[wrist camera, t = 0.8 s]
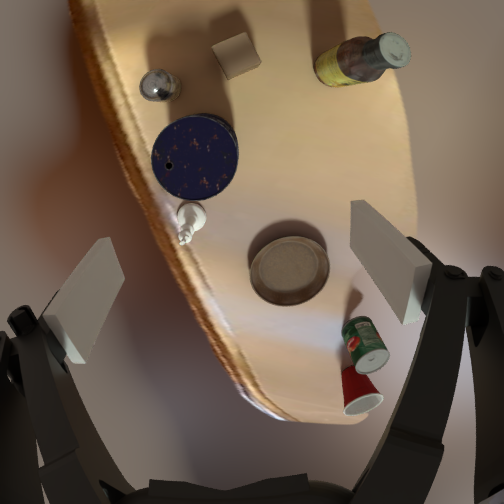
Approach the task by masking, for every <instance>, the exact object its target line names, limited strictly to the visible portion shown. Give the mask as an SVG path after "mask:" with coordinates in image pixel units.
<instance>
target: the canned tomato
mask: <svg viewBox="0 0 504 504" xmlns="http://www.w3.org/2000/svg"><path fill="white" fill-rule="evenodd" d="M341 334H342V337H343V339H344V342H345V344H346V346H347V349H348V351H349V354H350V356H351V359H352V361H353V363H354V366H355V368H356V371H357V372H358V373H360V374H370V373H373V372H375V371H377V370H379V369H381V368H382V367H383V366H384V365H385V364H386V363H387V362H388V360H389V357H390V354H389V352H388V350H387V348H386V346H385V344H384V343H383V341H382V339H381V337H380V335H379V333H378V332H377V330H376V328H375V326H374V324H373V323H372V320H371V319H370V318H369V317H366V316H359V317H356V318H353V319H351V320H350V321H348V322H347V323H346V324H345V325H344V327H343V329H342V332H341Z"/></svg>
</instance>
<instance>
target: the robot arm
mask: <svg viewBox="0 0 504 504" xmlns="http://www.w3.org/2000/svg"><path fill="white" fill-rule="evenodd" d="M350 248H351V249H352V251H353V252H354V253H355V255H356V256H357V258H358V259H359V260H360V262H361V263H362V265H363V266H364V268H365V269H366V270H367V272H368V273H369V275H370V276H371V278H372V279H373V281H374V282H375V284H376V285H377V287H378V288H379V290H380V291H381V293H382V294H383V296H384V297H385V299H386V300H387V302H388V303H389V305H390V306H391V308H392V310H393V311H394V313H395V314H396V316H397V317H398V319H399V321H400V322H401V324H402V325H405V324H409V323H413V322H417V321H418V319H419V316H420V312H421V310H422V311H423V312H424V314H425V315H426V317H425V321H424V324H423V327H422V330H421V333H420V339H419V342H418V345H417V348H416V351H415V354H414V358H413V361H412V363H411V366H410V370H409V372H408V375H407V378H406V381H405V383H404V386H403V389H402V391H401V394H400V396H399V399H398V401H397V404H396V406H395V408H394V411H393V413H392V415H391V418H390V420H389V422H388V424H387V426H386V429H385V431H384V433H383V435H382V437H381V439H380V441H379V443H378V445H377V447H376V449H375V451H374V453H373V455H372V457H371V459H370V461H369V463H368V464H367V466H366V468H365V470H364V471H363V473H362V474H361V476H360V478H359V479H358V481H357V483H356V484H355V486H354V488H353V489H352V491H350V490H348V489H346V488H344V487H342V486H339V485H336V484H333V483H328V482H324V481H315V480H308V477H307V473H305V474H299V475H292V476H286V477H279V478H270V479H265V480H262V481H258V482H256V483H252V484H249V485H245V486H242V487H238V488H235V489H231V490H226V491H224V490H217V489H213V488H208V487H204V486H199V485H196V484H191V483H188V482H181V481H164V480H152V479H150V480H149V487H147V488H143V489H139V490H137V491H136V490H135V489H134V488H133V487H132V486H131V485H130V484H129V483H128V482H127V481H126V479H125V478H124V476H123V475H122V473H121V472H120V471H119V469H118V467H117V465H116V464H115V462H114V461H113V459H112V457H111V455H110V454H109V452H108V450H107V449H106V447H105V445H104V443H103V441H102V440H101V438H100V436H99V434H98V432H97V430H96V428H95V426H94V424H93V422H92V420H91V419H90V416H89V414H88V412H87V410H86V408H85V406H84V404H83V401H82V399H81V397H80V395H79V393H78V390H77V388H76V385H75V383H74V381H73V378H72V376H71V373H70V371H69V368H68V366H67V364H66V363H65V361H64V358H65V356H66V354H67V355H68V357H69V358H70V360H71V361H72V362H73V363H82V364H83V363H85V364H86V362H87V360H88V358H89V355H90V353H91V351H92V348H93V346H94V343H95V341H96V339H97V337H98V334H99V332H100V330H101V327H102V325H103V323H104V321H105V319H106V317H107V314H108V312H109V310H110V308H111V306H112V304H113V302H114V300H115V298H116V296H117V294H118V292H119V290H120V287H121V286H122V284H123V282H124V280H125V277H124V275H123V272H122V270H121V267H120V264H119V262H118V259H117V257H116V254H115V251H114V248H113V245H112V243H111V239H110V237H108V238H102V239H98V240H97V242H96V243H95V244H94V245H93V246H92V248H91V249H90V250H89V252H88V253H87V254H86V255H85V257H84V258H83V259H82V260H81V262H80V263H79V264H78V266H77V267H76V268H75V270H74V271H73V272H72V274H71V275H70V276H69V278H68V279H67V280H66V282H65V283H64V285H63V286H62V287H61V289H59V290H58V291H57V292H56V294H55V295H54V296H53V298H52V300H51V301H50V302H49V303H48V306H47V307H46V308H45V309H44V311H43V312H42V314H41V316H40V317H39V319H38V320H37V319H36V317H35V315H34V313H33V312H32V310H31V308H30V307H29V306H28V305H23V306H20V307H19V308H17V309H15V310H14V311H13V312H12V313H11V314H10V315H9V317H8V320H7V322H8V324H9V325H10V327H11V328H12V330H13V331H14V333H15V335H16V336H17V337H14V338H11V339H9V337H8V336H7V334H6V333H5V331H0V504H45V502H44V497H43V491H42V486H41V483H42V485H43V488H44V491H45V493H46V495H47V498H48V500H49V503H50V504H424V502H425V500H426V497H427V495H428V493H429V490H430V488H431V486H432V483H433V481H434V478H435V476H436V473H437V471H438V468H439V465H440V462H441V460H442V456H443V452H444V445H443V444H442V437H443V434H444V430H445V427H446V424H447V420H448V417H449V413H450V409H451V405H452V401H453V397H454V392H455V388H456V383H457V378H458V372H459V367H460V361H461V355H462V348H463V341H464V333H465V327H466V333H467V338H468V343H469V350H470V357H471V364H472V373H473V382H474V393H475V407H476V408H475V409H476V460H475V475H474V504H504V271H503V270H502V269H500V268H498V267H496V266H495V267H494V266H486V267H484V268H483V270H482V272H481V276H480V277H468V276H467V274H466V272H465V271H464V270H462V269H461V268H459V267H456V266H452V265H444V264H443V263H442V262H441V261H440V260H438V258H437V257H436V256H435V255H433V254H432V253H430V251H429V250H428V249H427V248H425V246H424V245H423V244H422V243H421V242H420V241H418V240H416V239H414V238H412V237H405V236H404V235H403V234H402V233H401V232H400V231H399V230H397V229H396V228H395V227H394V226H393V225H392V224H391V223H390V222H389V221H388V220H386V219H385V218H384V217H383V216H382V215H381V214H380V213H379V212H377V211H376V210H375V209H374V208H373V207H372V206H371V205H369V204H368V203H367V202H366V201H365V200H356V201H351V228H350ZM8 376H9V377H10V379H11V382H10V380H9V378H8ZM36 439H37V443H38V446H39V448H40V452H41V455H42V457H43V461H44V466H42V467H40V468H39V465H38V456H37V445H36Z"/></svg>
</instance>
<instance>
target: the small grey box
mask: <svg viewBox="0 0 504 504" xmlns="http://www.w3.org/2000/svg"><path fill="white" fill-rule="evenodd" d="M211 47H212V50H213V53H214V55H215V57H216V59H217V60H218V62H219V64H220V66H221V68H222V70H223V72H224V73H225V75H226V77H227V79H228V80H229V79H231V78H234V77H236V76H238V75H241V74H243V73H245V72H248V71H250V70H252V69H255V68H257V67H258V66H259V65H260V63H261V60H260V58H259V56H258V54H257V52H256V50H255V48H254V46H253V44H252V43H251V41H250V39H249V37H248V35H247V34H246V32H244V33H241V34H239V35H236V36H234V37H231V38H229V39H227V40H224V41H222V42H220V43H217V44H215V45H213V46H211Z"/></svg>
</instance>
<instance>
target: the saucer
mask: <svg viewBox="0 0 504 504" xmlns="http://www.w3.org/2000/svg"><path fill="white" fill-rule="evenodd" d="M329 274H330V262H329V258H328V256H327V254H326V252H325V250H324V249H323V248H322V247H321V246H320V245H319V244H318V243H316V242H315V241H313V240H311V239H308V238H305V237H300V236H289V237H283V238H280V239H277V240H274V241H272V242H270V243H269V244H267V245H266V246H265V247H263V248H262V249H261V250H260V251H259V252H258V254H257V255H256V256H255V258H254V260H253V262H252V264H251V268H250V282H251V285H252V288H253V290H254V291H255V293H256V294H257V295H258V296H259V297H260V298H261V299H263V300H264V301H266V302H268V303H270V304H272V305H276V306H285V307H287V306H296V305H300V304H302V303H305V302H307V301H309V300H311V299H312V298H314V297H315V296H316V295H317V294H318V293H319V292H320V291H321V290H322V289H323V288H324V286H325V284H326V282H327V280H328V277H329Z"/></svg>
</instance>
